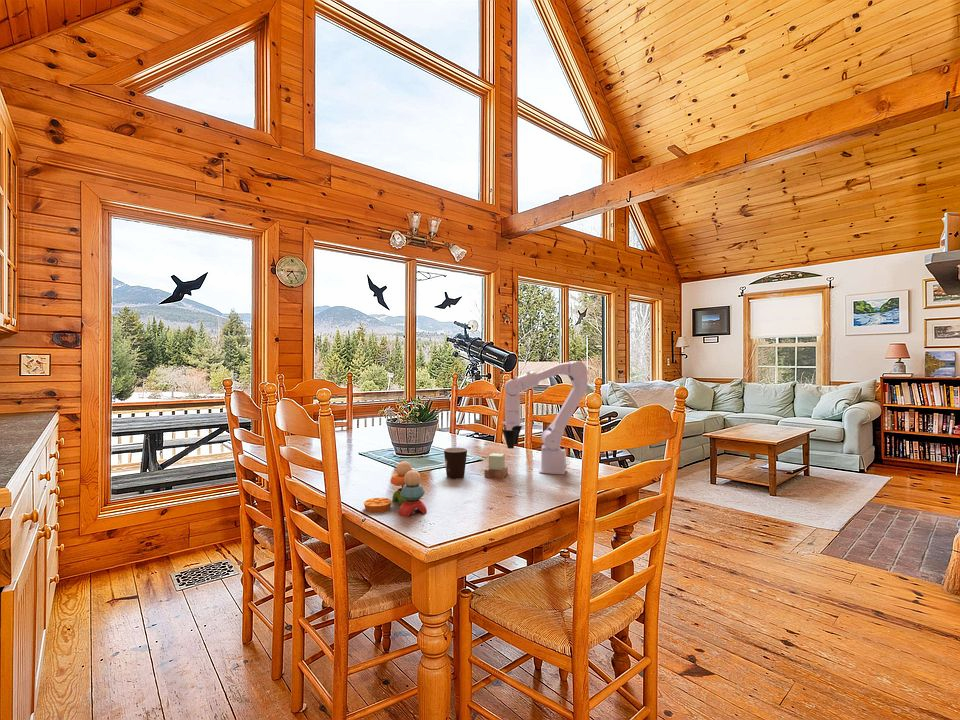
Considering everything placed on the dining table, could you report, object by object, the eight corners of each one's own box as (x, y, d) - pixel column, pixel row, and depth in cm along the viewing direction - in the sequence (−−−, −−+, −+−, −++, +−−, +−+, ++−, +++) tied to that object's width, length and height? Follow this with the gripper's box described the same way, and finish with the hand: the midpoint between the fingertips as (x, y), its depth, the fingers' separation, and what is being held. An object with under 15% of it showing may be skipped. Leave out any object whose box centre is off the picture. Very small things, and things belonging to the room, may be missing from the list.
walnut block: (507, 474, 183) (507, 466, 183) (502, 479, 177) (502, 471, 177) (489, 473, 186) (489, 465, 186) (484, 477, 179) (484, 469, 179)
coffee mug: (464, 480, 174) (464, 452, 173) (441, 479, 175) (441, 451, 175) (470, 472, 185) (470, 446, 185) (448, 471, 186) (448, 445, 186)
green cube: (504, 467, 183) (504, 453, 183) (501, 470, 178) (501, 456, 178) (491, 466, 184) (491, 453, 184) (488, 469, 180) (488, 455, 179)
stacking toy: (357, 507, 144) (357, 465, 144) (409, 496, 155) (409, 457, 154) (384, 524, 130) (384, 478, 130) (439, 511, 140) (439, 468, 140)
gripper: (505, 408, 194) (506, 442, 194) (498, 412, 180) (498, 449, 180) (523, 408, 192) (523, 443, 192) (517, 413, 178) (517, 450, 178)
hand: (512, 446), depth 186 cm, fingers open, 7 cm apart
